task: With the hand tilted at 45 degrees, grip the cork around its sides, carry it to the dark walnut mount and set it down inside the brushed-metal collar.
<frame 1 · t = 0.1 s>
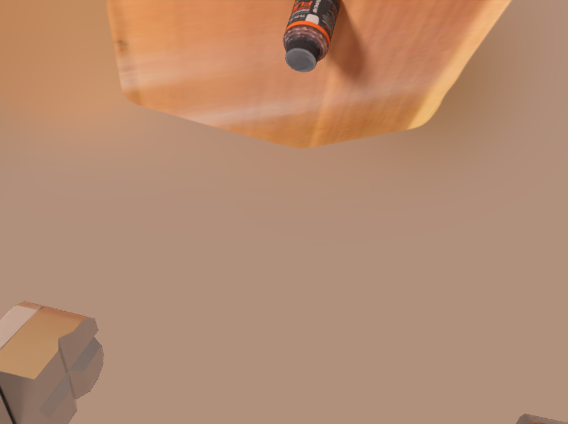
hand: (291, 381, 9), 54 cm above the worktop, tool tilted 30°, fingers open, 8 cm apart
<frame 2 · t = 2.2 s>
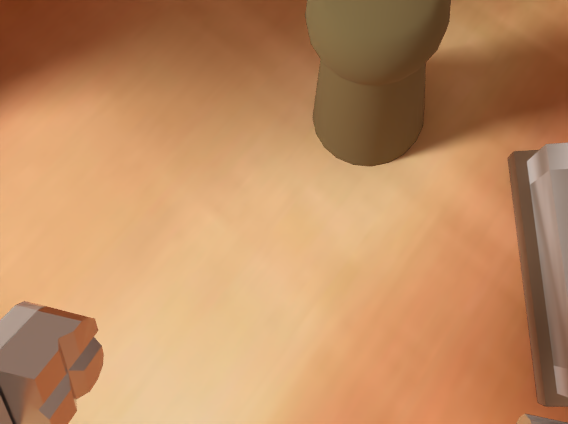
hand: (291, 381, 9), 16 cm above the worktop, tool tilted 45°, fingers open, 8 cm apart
cork: (367, 115, 27), on the worktop
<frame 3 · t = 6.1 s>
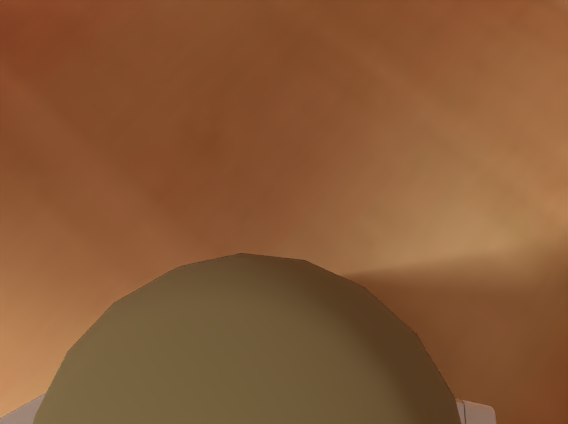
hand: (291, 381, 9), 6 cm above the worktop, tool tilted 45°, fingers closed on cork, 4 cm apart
cork: (310, 379, 15), on the worktop, touching gripper
when the fingers open (8 cm above the worktop, at t = 10.9 s): cork moves 1 cm, resting on socket mount.
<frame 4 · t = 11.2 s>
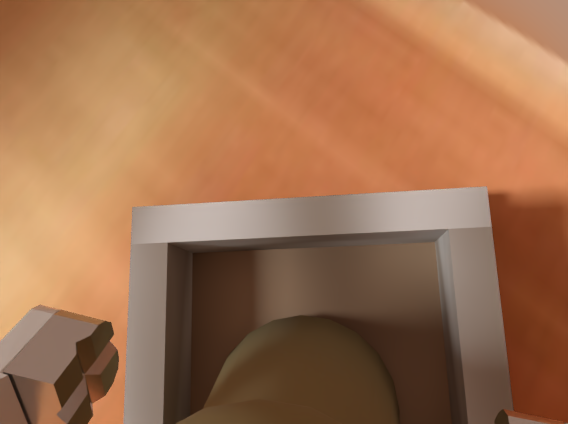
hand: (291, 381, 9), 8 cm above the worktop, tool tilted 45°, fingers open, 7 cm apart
socket mount: (316, 371, 17), on the worktop
cork: (304, 408, 16), point 1 cm above the worktop, touching socket mount
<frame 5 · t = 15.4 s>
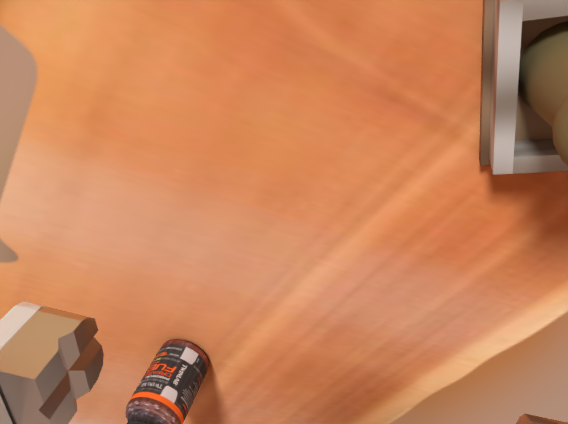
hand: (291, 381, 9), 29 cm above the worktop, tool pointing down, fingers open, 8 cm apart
cork: (567, 69, 31), point 1 cm above the worktop, touching socket mount
supplement bottle: (186, 353, 57), on the worktop
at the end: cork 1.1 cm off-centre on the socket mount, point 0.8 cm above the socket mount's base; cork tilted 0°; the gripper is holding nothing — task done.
